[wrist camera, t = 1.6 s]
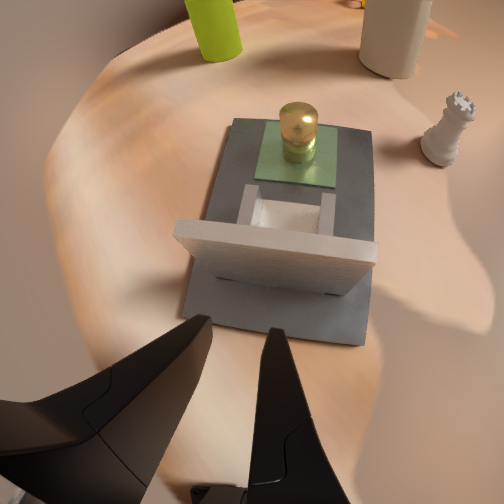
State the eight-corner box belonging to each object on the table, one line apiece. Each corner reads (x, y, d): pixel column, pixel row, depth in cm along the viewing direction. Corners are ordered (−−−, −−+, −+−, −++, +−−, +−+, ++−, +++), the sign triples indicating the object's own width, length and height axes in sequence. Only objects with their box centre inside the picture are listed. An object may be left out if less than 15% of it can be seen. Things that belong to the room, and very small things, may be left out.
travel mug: (403, 89, 28) (431, -32, 11) (349, 63, 31) (357, -55, 14) (419, 67, 30) (443, -34, 13) (371, 44, 32) (381, -55, 15)
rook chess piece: (418, 160, 25) (446, 107, 17) (418, 131, 26) (440, 78, 18) (454, 174, 24) (488, 126, 16) (452, 144, 25) (479, 96, 17)
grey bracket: (345, 295, 20) (376, 262, 13) (213, 276, 22) (172, 235, 14) (351, 215, 22) (376, 151, 14) (230, 201, 24) (204, 135, 16)
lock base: (361, 345, 20) (385, 344, 15) (186, 317, 23) (153, 306, 17) (369, 137, 26) (381, 95, 21) (235, 124, 29) (224, 82, 23)
